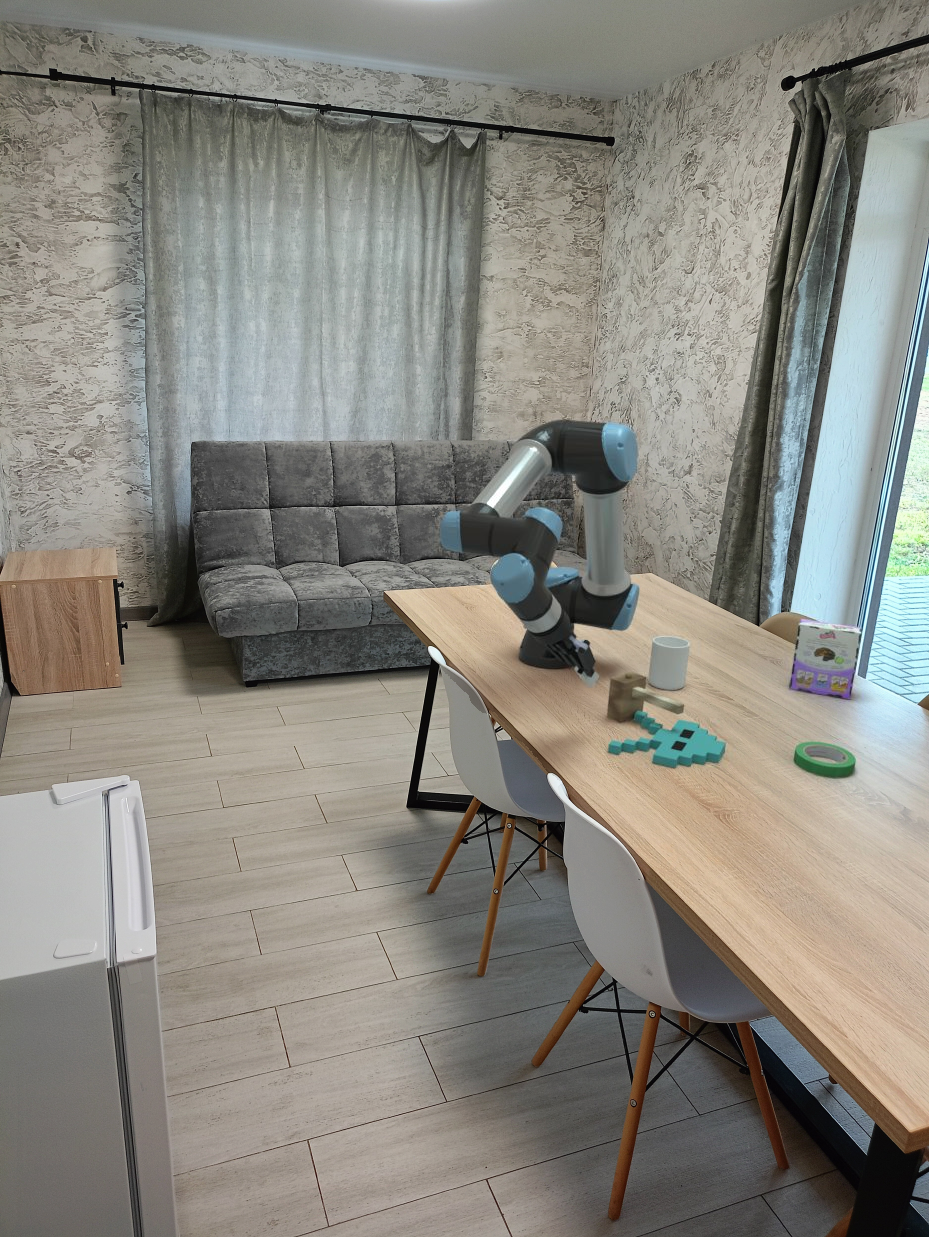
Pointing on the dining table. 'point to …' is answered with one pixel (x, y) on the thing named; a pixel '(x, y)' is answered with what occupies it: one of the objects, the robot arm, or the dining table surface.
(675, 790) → the dining table surface
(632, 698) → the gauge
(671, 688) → the mug
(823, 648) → the candy box
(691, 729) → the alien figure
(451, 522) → the robot arm
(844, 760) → the tape roll
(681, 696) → the dining table surface
